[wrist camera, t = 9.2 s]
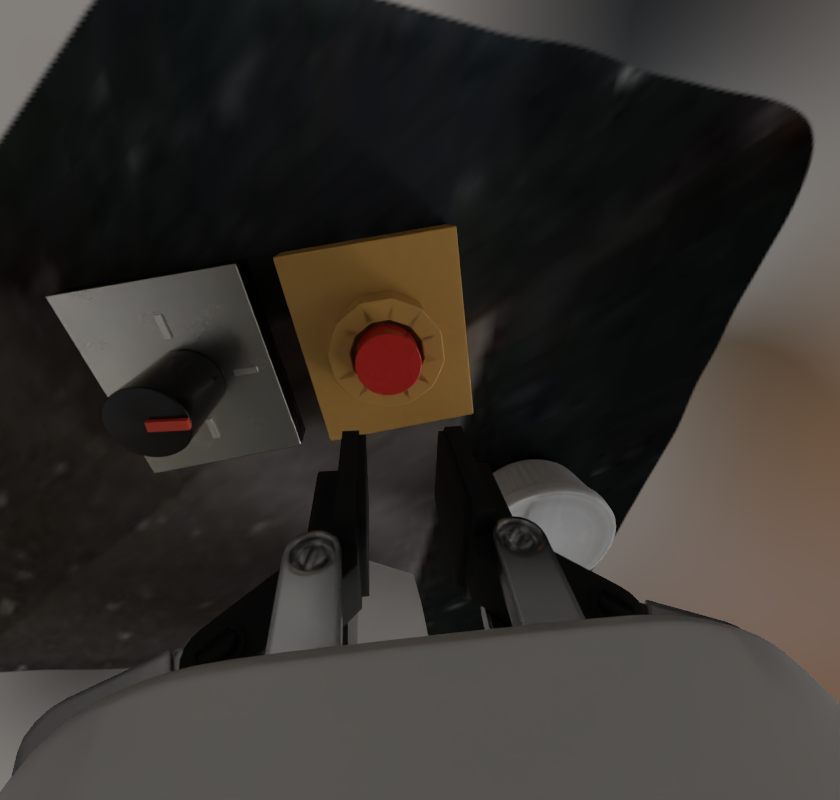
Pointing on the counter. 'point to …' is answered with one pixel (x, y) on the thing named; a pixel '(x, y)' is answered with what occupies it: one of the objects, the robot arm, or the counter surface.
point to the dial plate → (191, 331)
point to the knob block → (377, 305)
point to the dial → (164, 404)
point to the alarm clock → (388, 608)
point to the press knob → (387, 360)
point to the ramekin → (559, 508)
